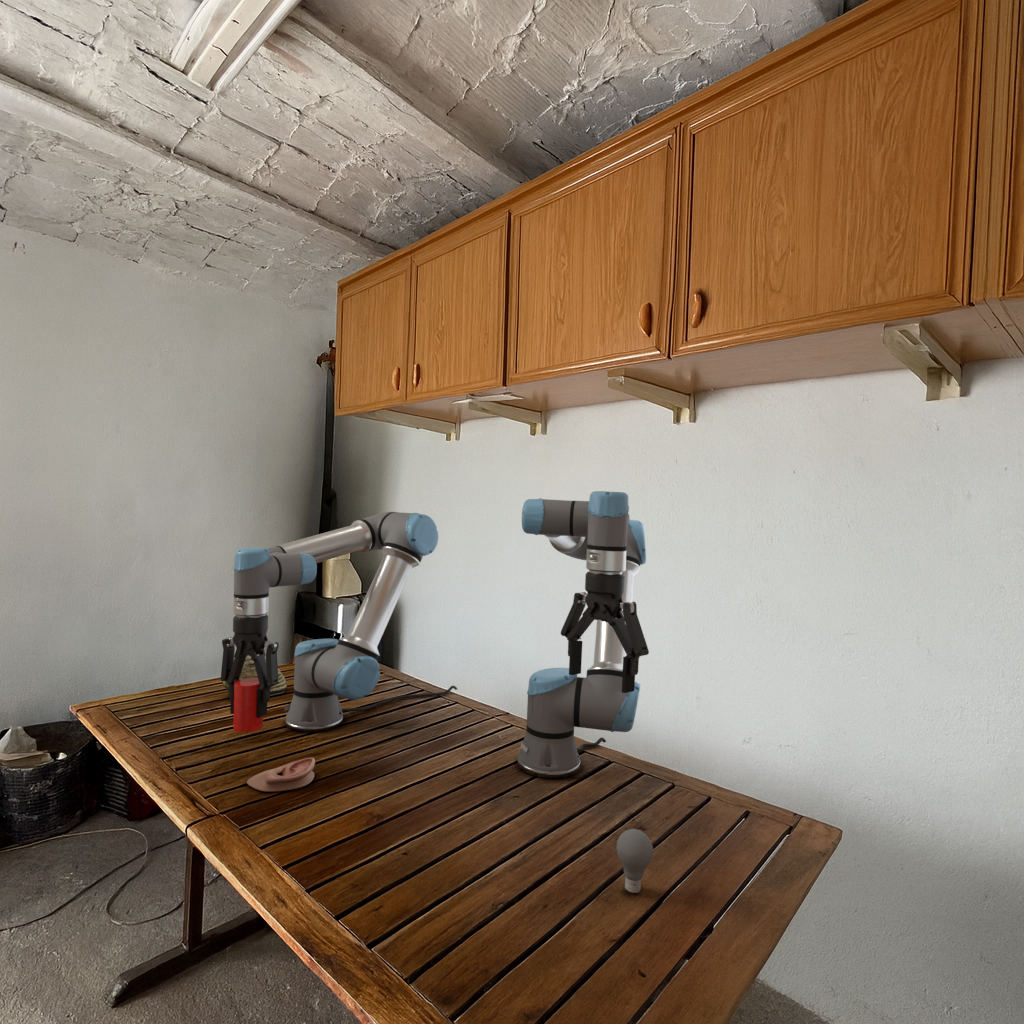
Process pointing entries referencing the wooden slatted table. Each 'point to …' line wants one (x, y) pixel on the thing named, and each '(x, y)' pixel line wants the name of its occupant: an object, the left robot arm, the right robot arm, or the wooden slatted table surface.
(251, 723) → the tin
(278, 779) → the anatomical model
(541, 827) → the wooden slatted table surface
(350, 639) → the left robot arm
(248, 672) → the fossil
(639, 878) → the light bulb
